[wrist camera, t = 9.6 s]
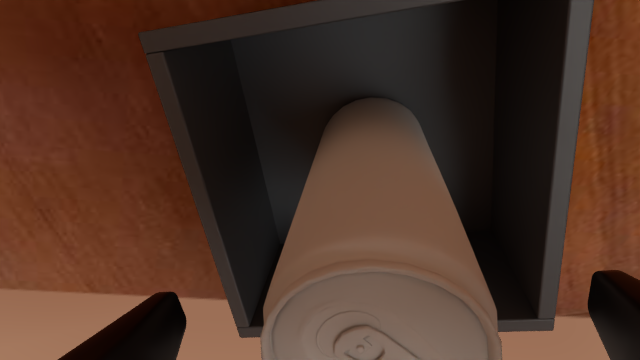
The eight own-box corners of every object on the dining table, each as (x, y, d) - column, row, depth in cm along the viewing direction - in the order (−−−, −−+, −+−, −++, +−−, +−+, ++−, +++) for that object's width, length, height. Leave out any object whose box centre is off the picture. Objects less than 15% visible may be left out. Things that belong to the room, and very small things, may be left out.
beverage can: (369, 71, 17) (369, 206, 6) (447, 141, 17) (571, 370, 7) (301, 148, 18) (206, 357, 8) (375, 208, 19) (381, 468, 9)
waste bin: (499, 232, 20) (554, 331, 14) (274, 246, 22) (239, 338, 16) (509, -32, 15) (602, -52, 9) (218, 20, 17) (136, 32, 11)
